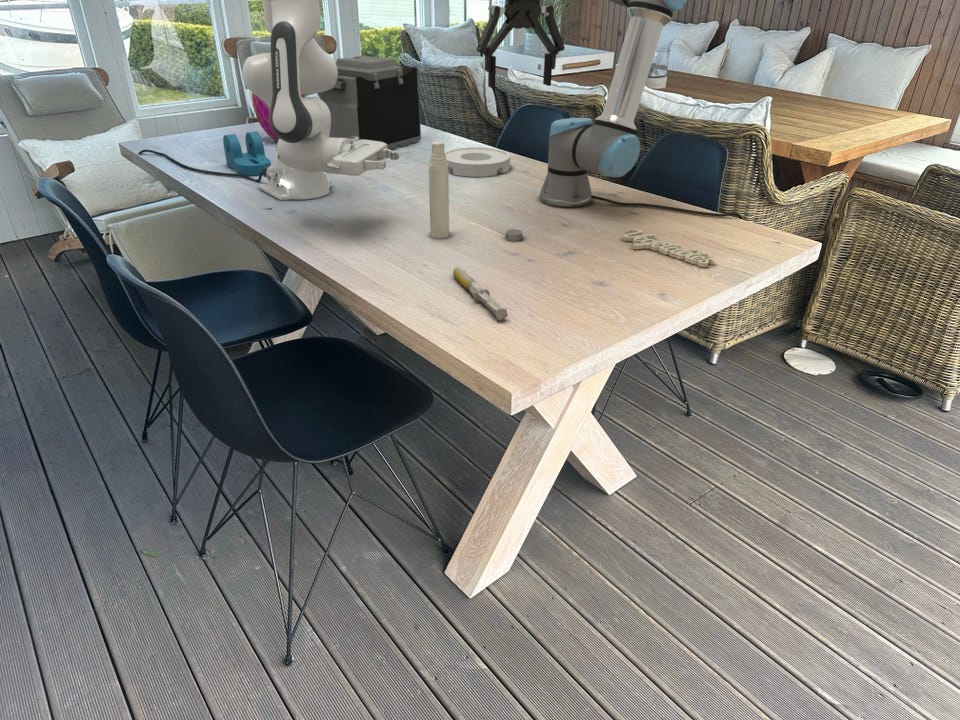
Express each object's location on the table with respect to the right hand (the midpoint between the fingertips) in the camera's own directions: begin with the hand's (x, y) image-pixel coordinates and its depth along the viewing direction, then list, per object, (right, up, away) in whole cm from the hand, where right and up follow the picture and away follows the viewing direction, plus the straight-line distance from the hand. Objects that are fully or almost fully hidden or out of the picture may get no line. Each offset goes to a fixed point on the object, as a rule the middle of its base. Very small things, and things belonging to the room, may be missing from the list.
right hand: (519, 86), depth 157 cm
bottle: (-19, -30, +20) cm, 41 cm away
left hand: (-31, -13, +13) cm, 36 cm away
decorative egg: (-85, +22, +108) cm, 139 cm away
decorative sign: (+36, -36, +12) cm, 52 cm away
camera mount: (-86, +1, +72) cm, 112 cm away
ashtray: (-10, +3, +76) cm, 77 cm away
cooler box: (-50, +18, +101) cm, 114 cm away
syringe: (-9, -49, -12) cm, 52 cm away
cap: (0, -30, +18) cm, 35 cm away
